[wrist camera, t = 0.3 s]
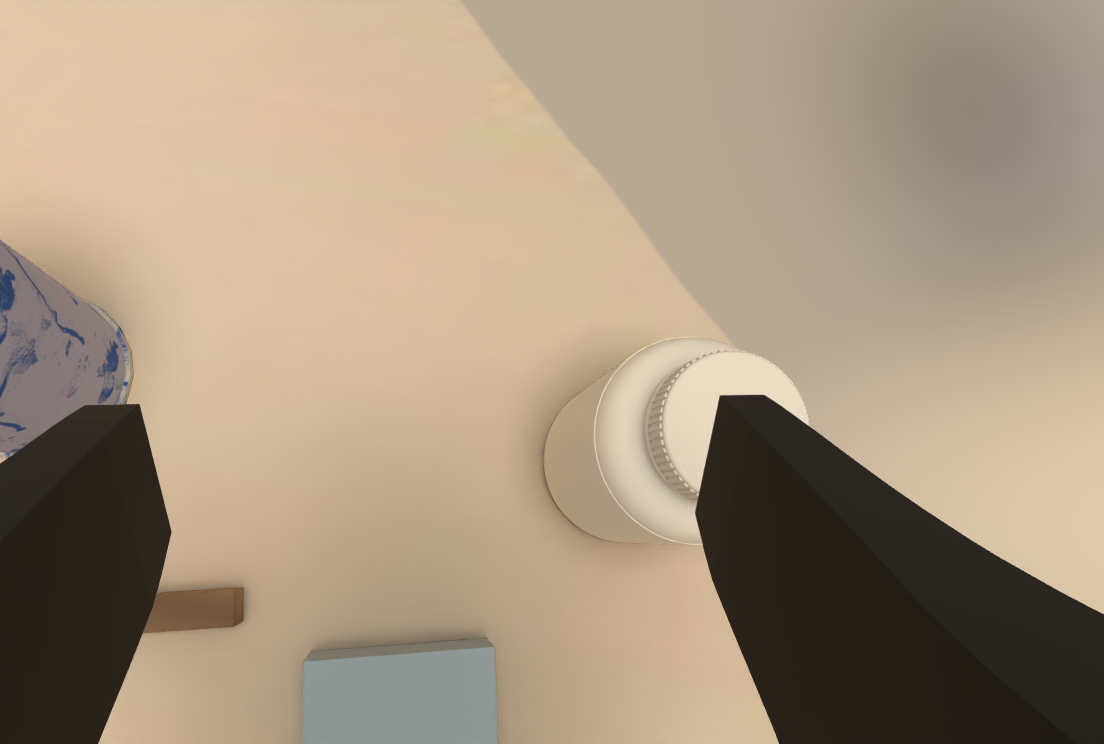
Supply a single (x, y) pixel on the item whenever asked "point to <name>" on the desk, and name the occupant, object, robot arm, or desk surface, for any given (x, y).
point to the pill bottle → (651, 438)
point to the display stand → (196, 610)
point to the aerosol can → (52, 353)
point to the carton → (401, 694)
